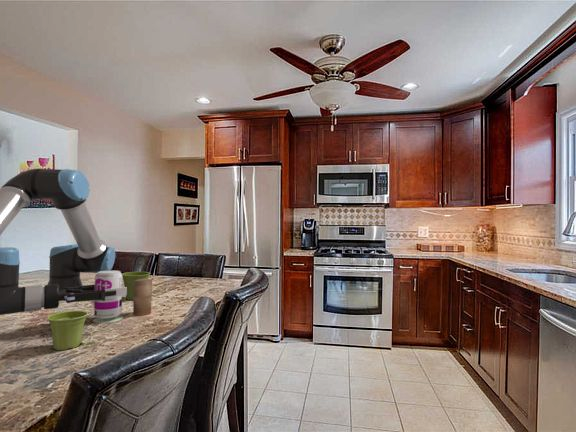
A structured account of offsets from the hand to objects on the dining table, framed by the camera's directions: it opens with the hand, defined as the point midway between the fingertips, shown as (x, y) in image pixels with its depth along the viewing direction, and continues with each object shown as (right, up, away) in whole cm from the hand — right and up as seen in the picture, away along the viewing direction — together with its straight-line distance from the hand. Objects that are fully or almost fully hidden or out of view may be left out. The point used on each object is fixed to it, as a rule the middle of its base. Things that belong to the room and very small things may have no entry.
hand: (123, 288), depth 114 cm
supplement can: (-4, -9, -3) cm, 10 cm away
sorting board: (0, -11, 0) cm, 11 cm away
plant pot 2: (-10, -12, +31) cm, 35 cm away
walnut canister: (+5, -10, +4) cm, 12 cm away
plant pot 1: (-3, -11, -24) cm, 27 cm away
